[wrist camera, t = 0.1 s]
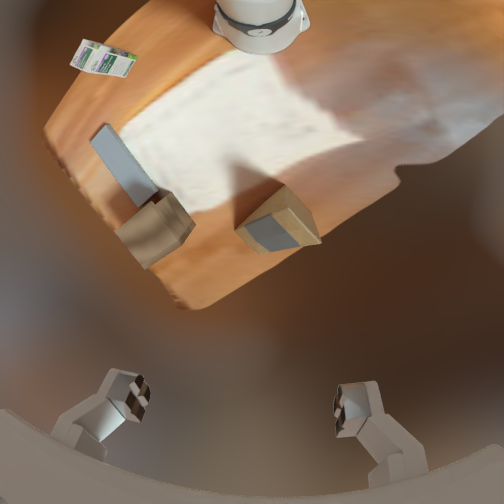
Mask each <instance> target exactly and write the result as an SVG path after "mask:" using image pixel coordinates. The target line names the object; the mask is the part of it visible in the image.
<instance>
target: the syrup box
mask: <svg viewBox="0 0 504 504" xmlns="http://www.w3.org/2000/svg"><path fill="white" fill-rule="evenodd" d="M137 58H138V56H136V55H134V54H131V53H129V52H126V51H124V50H121V49H118V48H115V47H112V46H108V45H105V44H101V43H98V42H93V41H90V40H86V39H83V41H82V43H81V45H80V46H79V48H78V50H77V51H76V53H75V55H74V57H73V59H72V61H71V63H70V65H71V66H73V67H76V68H78V69H80V70H82V71H84V72H86V73H95V74H104V75H112V76H118V77H123V78H126V76H127V74H128V73H129V71H130V69H131V68H132V66H133V64H134V63H135V61H136V60H137Z"/></svg>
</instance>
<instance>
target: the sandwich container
mask: <svg viewBox="0 0 504 504" xmlns="http://www.w3.org/2000/svg"><path fill="white" fill-rule="evenodd" d="M234 231H235V232H236V233H237V234H238V235H239V236H240V237H241V238H242V239H243V240H244V242H245V243H246V244H248V245H249V246H250V247H251V248H252V249H253V250H254V251H256V252H257V253H258V254H259V255H261V254H265V253H269V252H274V251H279V250H284V249H290V248H295V247H301V246H307V245H313V244H320V243H322V242H321V239H320V236H319V233H318V230H317V227H316V224H315V222H314V219H313V216H312V213H311V211H310V210H309V209H308V208H307V207H306V206H305V205H304V204H303V203H302V202H301V201H300V199H299V198H298V197H297V196H296V195H295V194H294V193H293V192H292V191H291V190H290V189H289V188H288V187H287V186H286V185H284V186H283V187H281V188H280V189H279V190H278V191H277V192H275V193H274V194H273V195H272V196H271V197H269V198H268V199H267V200H266V201H265V202H263V203H262V204H261V205H260V206H259V207H258V208H257V209H256V210H255V211H254V212H253V213H252V214H251V215H250V216H249V217H248V218H246V219H245V220H244V221H243V222H242V223H241V224H240V225H239V226H238V227H237V228H236V229H235V230H234Z"/></svg>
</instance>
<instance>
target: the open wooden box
mask: <svg viewBox="0 0 504 504" xmlns="http://www.w3.org/2000/svg"><path fill="white" fill-rule="evenodd" d="M195 226H196V224H195V223H194V221H193V220H192V219H191V217H190V216H189V215H188V213H187V212H186V211H185V209H184V208H183V207H182V205H181V204H180V203H179V201H178V200H177V198H176V197H175V196H174V194H173V193H172V192H171V193H169V194H168V195H167V196H165V197H164V198H163V199H162V200H160V201H159V202H158V203H156V204H154V203H153V201H151V202H149V203H148V204H147V205H146V206H144V207H143V208H142V209H141V210H140V211H138V212H137V213H136V214H135V215H134V216H133V217H131V218H130V219H129V220H128V221H127V222H126V223H124V224H123V225H122V226H121V227H120V228H119V229H118V230H117V231H115V233H116V234H117V236H118V237H119V238H120V239H121V241H122V242H123V243H124V244H125V246H126V247H127V248H128V250H129V251H130V252H131V253H132V254H133V256H134V257H135V258H136V259H137V261H138V262H139V263H140V264H141V266H142V267H143V268H144V269H147V268H148V267H150V266H151V265H153V264H154V263H156V262H157V261H159V260H160V259H162V258H163V257H165V256H166V255H168V254H169V253H171V252H172V251H174V250H175V249H177V248H178V247H180V246H181V245H182V244H183V243H184V241H185V240H186V238H187V237H188V236H189V234H190V233H191V231H192V230H193V228H194V227H195Z"/></svg>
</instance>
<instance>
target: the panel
mask: <svg viewBox="0 0 504 504" xmlns="http://www.w3.org/2000/svg"><path fill="white" fill-rule="evenodd" d="M90 143H91V145H92V146H93V148H94V149H95V151H96V152H97V153H98V155H99V156H100V158H101V159H102V160H103V162H104V163H105V165H106V166H107V167H108V169H109V170H110V171H111V173H112V174H113V176H114V177H115V178H116V180H117V181H118V182H119V184H120V185H121V186H122V188H123V189H124V190H125V191H126V193H127V194H128V195H129V197H130V198H131V199H132V201H133V202H134V203H135V204H136V206H137V207H140V206H141V205H142V204H143V203H145V202H146V201H147V200H148V199H149V198H150V197H151V196H153V195H154V194H155V193H156V192H157V191H158V190H159V189H158V188H157V187H156V185H155V184H154V183H153V181H152V180H151V179H150V177H149V176H148V175H147V174H146V172H145V171H144V170H143V168H142V167H141V166H140V164H139V163H138V162H137V160H136V159H135V158H134V156H133V155H132V154H131V152H130V151H129V150H128V148H127V147H126V146H125V144H124V143H123V141H122V140H121V139H120V137H119V136H118V135H117V133H116V132H115V131H114V129H113V128H112V126H111V125H110V124H108V125H105V126H104V127H103V128H102V129H101V130H100V131H99V133H98V134H97V135H96V136H95V137H94V139H93V140H92V141H91V142H90Z"/></svg>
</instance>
